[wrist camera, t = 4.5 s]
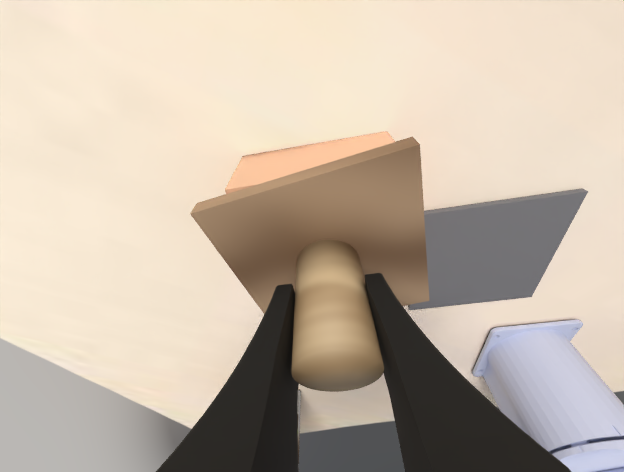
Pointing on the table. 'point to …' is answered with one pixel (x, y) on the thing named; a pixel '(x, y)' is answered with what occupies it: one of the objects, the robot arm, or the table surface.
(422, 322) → the table surface
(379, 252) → the lid
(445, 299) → the mat
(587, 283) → the table surface
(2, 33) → the table surface
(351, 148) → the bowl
